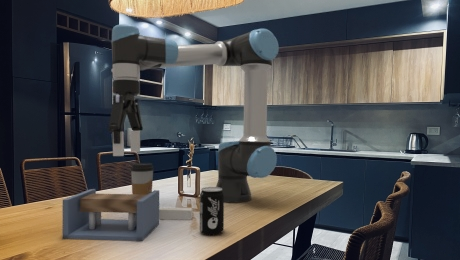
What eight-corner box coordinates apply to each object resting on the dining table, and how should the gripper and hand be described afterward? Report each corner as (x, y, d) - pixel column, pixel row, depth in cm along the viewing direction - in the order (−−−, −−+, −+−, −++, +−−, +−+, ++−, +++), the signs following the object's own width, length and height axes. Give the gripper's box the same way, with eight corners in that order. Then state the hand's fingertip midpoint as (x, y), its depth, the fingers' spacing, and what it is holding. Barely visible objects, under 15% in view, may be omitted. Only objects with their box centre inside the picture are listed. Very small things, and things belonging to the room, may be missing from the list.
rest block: (192, 217, 107) (192, 208, 107) (190, 220, 104) (190, 210, 104) (161, 216, 107) (161, 207, 107) (158, 219, 104) (159, 209, 104)
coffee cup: (147, 207, 120) (147, 165, 120) (126, 206, 121) (126, 165, 121) (157, 202, 128) (157, 163, 128) (137, 201, 130) (137, 162, 130)
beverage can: (228, 232, 92) (228, 188, 92) (211, 238, 87) (211, 192, 87) (211, 227, 96) (211, 185, 96) (194, 232, 91) (194, 188, 91)
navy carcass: (159, 224, 99) (159, 190, 99) (142, 241, 84) (142, 201, 84) (90, 222, 101) (90, 189, 101) (62, 238, 86) (62, 199, 86)
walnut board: (147, 206, 95) (147, 194, 95) (138, 213, 89) (138, 199, 88) (92, 205, 97) (92, 193, 97) (80, 211, 90) (80, 198, 90)
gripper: (128, 85, 109) (130, 150, 110) (93, 74, 84) (95, 158, 85) (151, 85, 109) (152, 150, 109) (122, 73, 84) (124, 157, 84)
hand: (127, 153), depth 97 cm, fingers open, 13 cm apart
